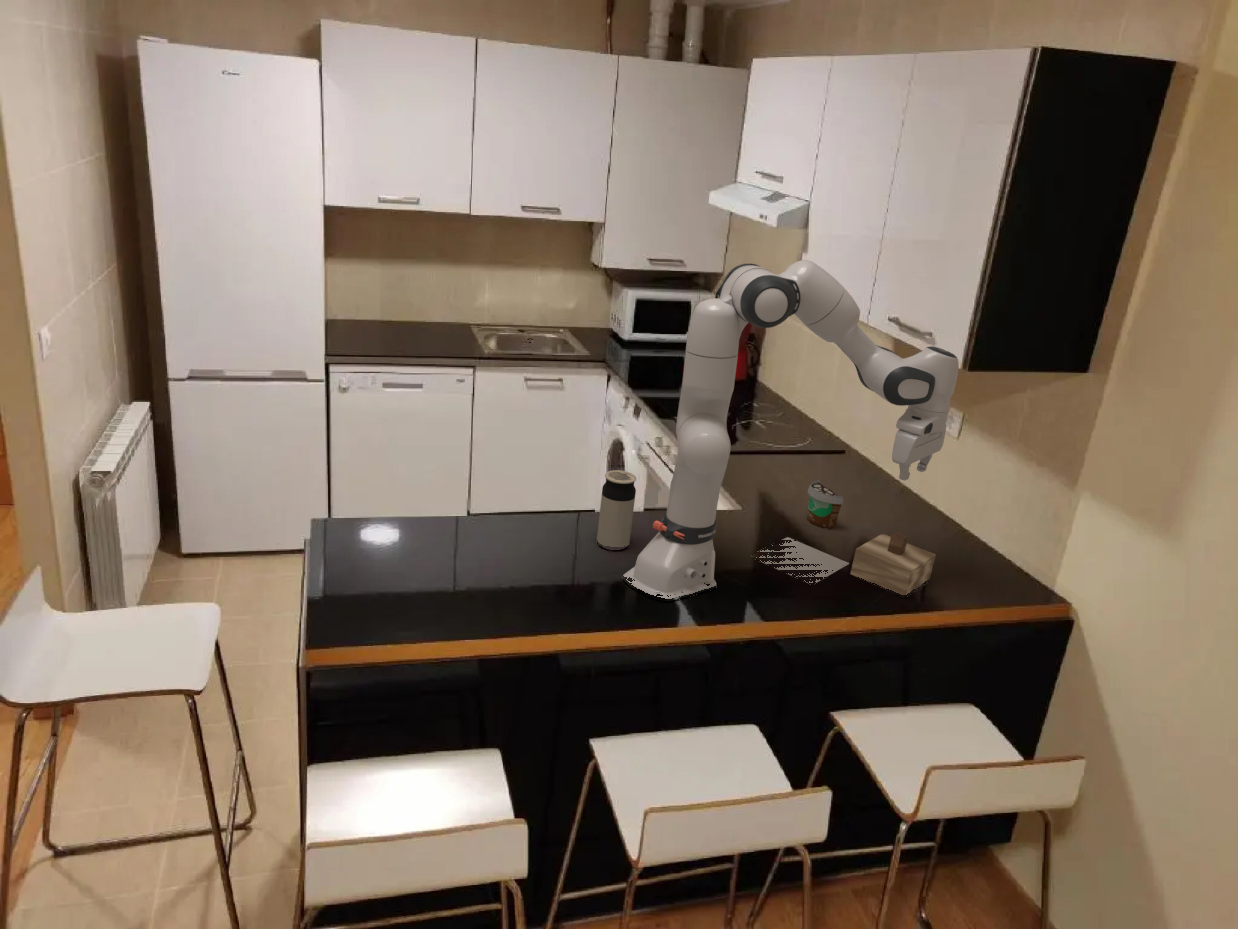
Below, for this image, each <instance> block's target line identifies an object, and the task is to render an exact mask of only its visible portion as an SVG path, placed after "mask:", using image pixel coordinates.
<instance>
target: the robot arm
mask: <svg viewBox="0 0 1238 929" xmlns="http://www.w3.org/2000/svg"><path fill="white" fill-rule="evenodd" d="M793 315H794V316H796V318H798V320H800V322H801V323H802V324H804V325H805V327H806V328H807V329H809V330H810V331H811V332H813V334H815V335H816V336H818V337H819V338H820V339H822V340H824V341H825V342H827V343H834V344H835V345H836V346H837V347H838V348H839V350H841V351H842V352H843V353H844V354H845V356H847V358H849V360H850V361H851V362H852V363H853V366H854V367H855V370H856V373H857V376H858V378H859V379H858V380H859V381H860V382H861V384H862V385H863V386H864V387H865V388H866V389H868V390H870V391H871V392H874V394H876V395H878V396H879V397H880V398H882V399H883V400H885V401H886V402H887V403H889V404H892V405H895V406H898V407H899V406H900V407H901V406H902V407H903V406H907V408H906V409H905V412H903V414H902V415H901V416H900V417H899V418H898V419H897V421H896V425H895V427H896V429H898V430H897V431H896V433H895V437H894V442H893V446H892V453H891V460H892V462H893V463H895V464H897V465H898V467H899V476H898V478H899V480H902V481H907V480H909V479H910V475H911V472H910V467H911V465H912V464H913V463H916V462H918V463H917V467H916V471H918V472H921V473H924V472H926V471H927V468H928V465H929V463H930V461H931V459H932V458H933V454H936V453H938V452H940V451H941V449H942V448H943V446H944V442H945V438H946V437H945V436H946V432H947V431H946V430H947V423H948V422H947V421H948V417H949V413H950V409H951V408H950V403H951V398H952V396H953V395H954V393H955V389H956V385H957V380H958V376H959V366H960V365H959V364H960V363H959V359H958V357H957V356H956V354H954V353H952V352H950V351H948V350H945V349H943V348H940V347H937V346H926V347H925V348H924V349H923V350H922V351H920V352H918V353H916V354H914V355H911V356H908V357H904V358H902V357H901V356H899V355H898V354H897V353H895V352H894V351H893V350H891V349H889V348H887V347H883V346H880V345H877V344H876V343H875V342H874V341H873V340H872V339H871V338H870V337H869V336H868V335H867V333H865V331H864V330H863V329H862V328H861V327H860V326H859V321H860V318H861V317H860V316H861V309H860V307H859V306H858V303H857V302H856V301H855V299H854V297H853V296H852V295H851V294H850V293H849V291H848V290H847V289H846V288H845V287H844V286H843V285H842V284H841V283H840V282H839V281H838V280H837V279H836V278H835V277H834V276H833V275H831V274H830V273H829V272H827V271H826V270H825V269H824V268H822V267H821V266H820V265H818V264H817V263H815V262H814V261H812V260H809V259H801V260H798V261H795V262H793V263H792V264H790V265H789V266H788V267H787V268H786V269H785V270H784V271H783V272H781V273H777V274H776V273H774V272H773V271H772V270H770V269H768V268H765V267H762V266H760V265H759V264H756V263H755V264H754V263H743V264H742V263H741V264H739V265H736V266H735V267H733V268H731V269H730V271H729V272H728V273H727V274H726V275H725V277H724V279H723V281H722V283H721V285H720V286H719V288H718V289H717V291H716V292H715V297H714V298H708V299H705V300H702V301H700V302H699V303H698V304H697V305H696V306H695V308H694V309H693V313H692V317H691V319H690V324H689V328H688V332H687V337H686V338H687V339H686V346H685V354H684V363H683V364H684V365H683V376H682V384H681V390H680V391H681V392H680V395H679V401H678V410H677V416H676V417H677V418H676V425H675V433H676V439H677V455H676V459H675V464H674V465H675V466H674V470H673V475H672V478H671V481H670V486H669V493H668V494H669V495H668V501H667V507H666V512H665V513H664V515H663V518H662V520H661V521H659V520H655V521H654V522H653V523H652V524H653V525H652V528H653V530H656V531H658V533H656V535H655V536H654V537H653V538H652V539H651V540H650V541H649V542H648V544H647V545H646V546H645V547H644V548H643V549H642V551H641V552H640V553H639V554H638V555H637V559H636V561H635V565H634V566H633V567H632V568H631V569H629V570H628V571H626V572H625V573H623V576H624V577H627V579H628V578H629V577H630V578H632V580H633V579H634V580H635V581H634V580H633V581H632V582H630V581H628V580H627V579H626V580H627V581H628V582H629V583H632V584H631V585H633V586H634V587H636V588H637V589H640V590H642V591H644V592H645V593H648V594H650V595H654V596H656V595H657V594H660V595H663V596H657V597H661V598H665V599H672V598H676V597H677V598H678V597H679V596H680V597H681V596H684V595H689V594H693V593H695V592H698V591H701V590H704V589H709V588H711V587H714V586H716V587H717V582H716V580H715V566H716V565H715V564H716V551H715V547H714V541H713V539H714V538H715V536H716V535H715V534H716V530H717V520H716V517H717V516H716V515H717V510H718V504H719V499H720V498H719V497H720V493H721V492H720V491H721V488H722V484H723V481H724V478H725V474H726V471H727V466H728V462H729V459H730V453H731V449H732V448H731V447H732V446H731V445H732V444H731V439H730V436H729V433H728V428H727V427H728V426H727V420H728V413H729V407H730V403H731V399H732V396H733V392H734V389H735V383H736V381H735V380H736V374H737V367H738V366H737V364H738V357H739V356H738V355H739V347H740V346H739V345H740V339H741V336H742V332H743V330H744V329H745V327H746V326H747V325H748V324H750V325H752V326H754V327H756V328H761V329H763V328H764V329H770V328H774V327H777V326H779V325H781V324H782V323H783V322H785V321H786V320H787V319H788V318H789V317H791V316H793ZM623 576H622V577H623ZM704 583H705V584H704ZM706 584H710V585H709V586H707V585H706ZM667 595H668V596H669V597H668V596H667ZM670 595H671V596H670Z"/></svg>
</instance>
